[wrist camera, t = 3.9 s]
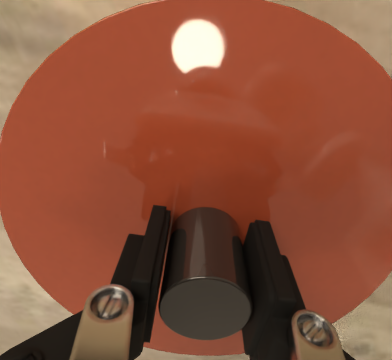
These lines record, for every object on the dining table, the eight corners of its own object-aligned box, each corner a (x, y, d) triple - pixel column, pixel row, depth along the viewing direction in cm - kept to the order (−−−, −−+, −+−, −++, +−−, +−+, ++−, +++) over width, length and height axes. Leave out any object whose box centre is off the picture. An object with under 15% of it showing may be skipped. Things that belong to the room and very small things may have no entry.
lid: (505, 47, 10) (747, 63, 5) (320, 353, 18) (356, 457, 14) (-28, -51, 9) (-252, -126, 4) (34, 318, 17) (-24, 416, 13)
